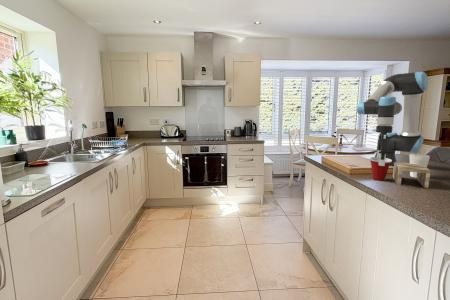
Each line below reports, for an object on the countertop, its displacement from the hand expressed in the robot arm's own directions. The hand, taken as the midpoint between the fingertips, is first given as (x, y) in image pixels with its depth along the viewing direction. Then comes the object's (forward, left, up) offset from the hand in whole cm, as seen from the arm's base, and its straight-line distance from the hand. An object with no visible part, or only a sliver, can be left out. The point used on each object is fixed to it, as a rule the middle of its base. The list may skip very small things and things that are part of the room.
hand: (380, 163), depth 138 cm
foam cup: (-20, +21, -10) cm, 31 cm away
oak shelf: (-3, +15, -9) cm, 18 cm away
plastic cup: (-1, 0, -10) cm, 10 cm away
